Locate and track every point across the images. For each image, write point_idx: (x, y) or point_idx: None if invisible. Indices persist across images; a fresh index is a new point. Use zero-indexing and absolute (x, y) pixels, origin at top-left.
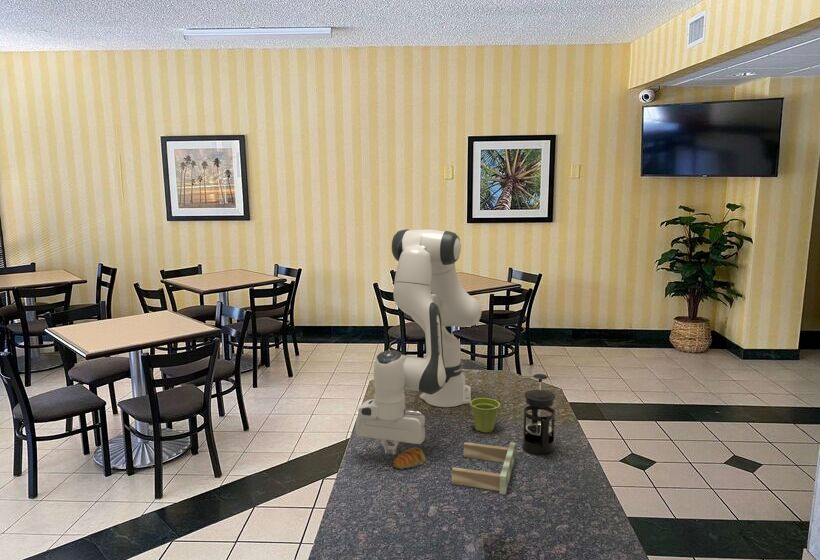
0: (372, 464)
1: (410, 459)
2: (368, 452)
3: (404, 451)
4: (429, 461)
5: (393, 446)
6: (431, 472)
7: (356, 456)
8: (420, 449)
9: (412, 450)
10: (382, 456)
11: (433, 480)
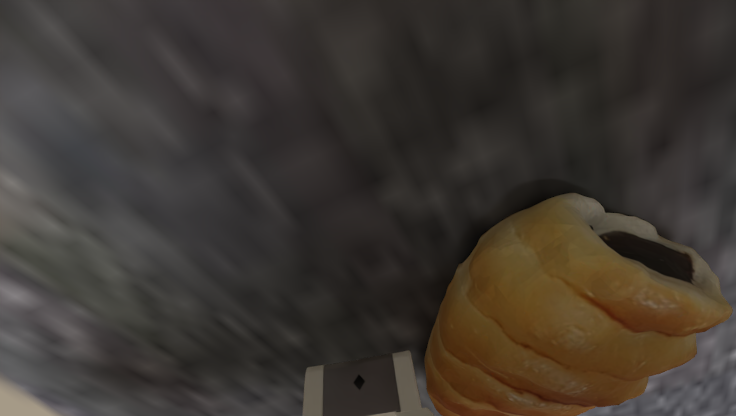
0: (276, 404)
1: (593, 407)
2: (92, 311)
3: (519, 374)
4: (713, 214)
5: (386, 412)
6: (714, 328)
7: (77, 385)
8: (721, 319)
9: (614, 352)
10: (262, 311)
11: (717, 379)
